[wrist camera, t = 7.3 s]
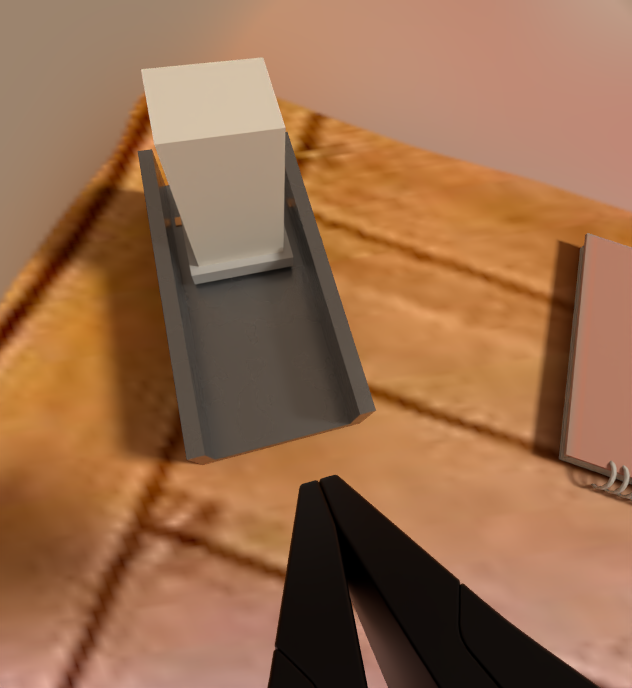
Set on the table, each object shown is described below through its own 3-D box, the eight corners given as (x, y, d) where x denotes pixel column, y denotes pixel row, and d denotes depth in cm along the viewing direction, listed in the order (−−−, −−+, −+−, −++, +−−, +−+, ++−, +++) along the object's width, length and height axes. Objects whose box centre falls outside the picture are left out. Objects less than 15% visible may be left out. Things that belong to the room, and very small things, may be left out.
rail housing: (360, 423, 23) (375, 410, 19) (203, 465, 21) (186, 460, 18) (286, 178, 28) (287, 131, 25) (157, 198, 27) (137, 151, 23)
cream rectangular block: (292, 265, 25) (300, 135, 15) (195, 284, 24) (142, 156, 14) (274, 201, 26) (272, 48, 17) (182, 215, 25) (126, 61, 16)
